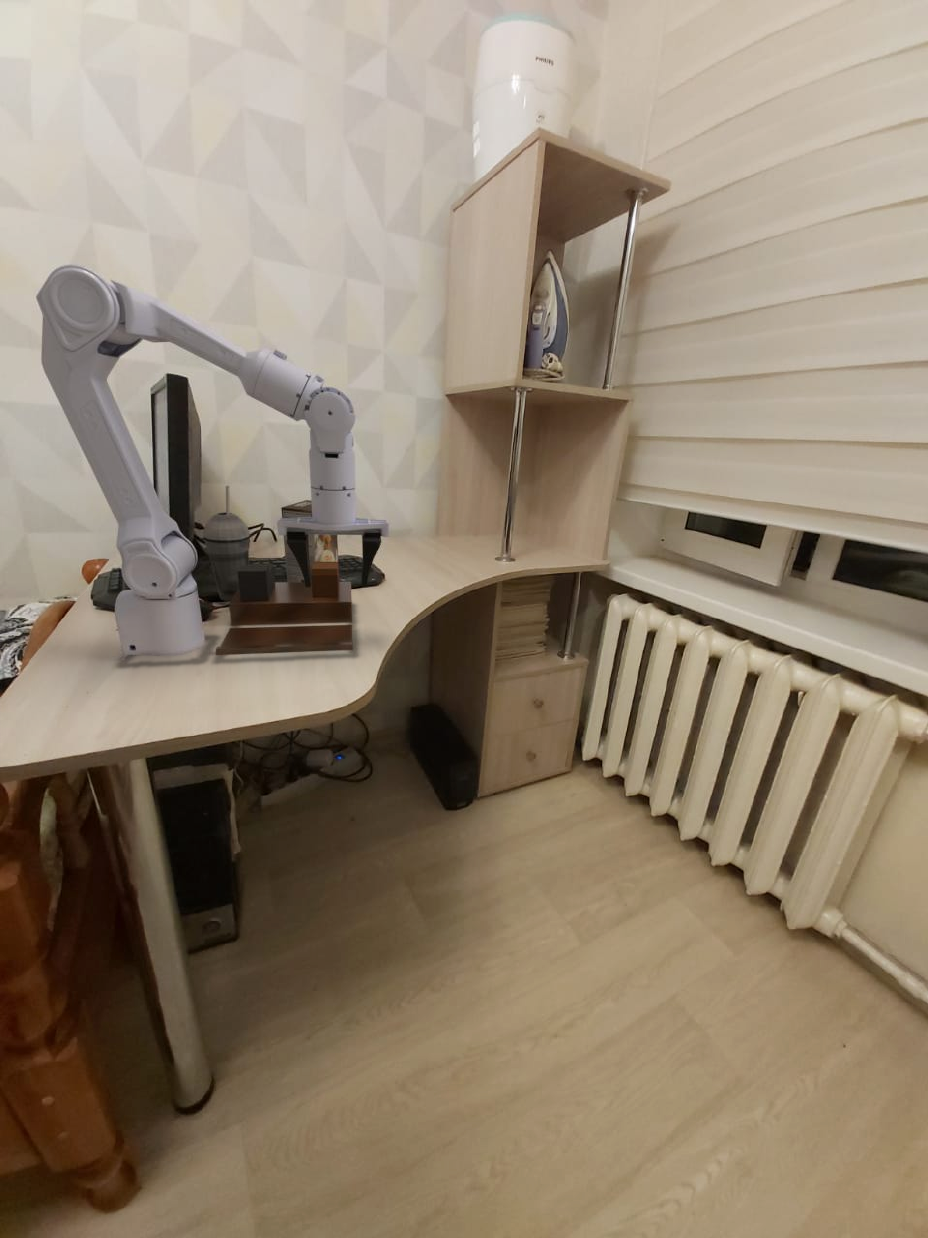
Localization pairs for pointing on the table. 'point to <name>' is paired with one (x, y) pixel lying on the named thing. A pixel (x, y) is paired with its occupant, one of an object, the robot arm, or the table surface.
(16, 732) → the table surface
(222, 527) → the beverage cup
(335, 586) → the brown block
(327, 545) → the coffee box
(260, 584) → the dark grey block
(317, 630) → the shoe stand
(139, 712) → the table surface
